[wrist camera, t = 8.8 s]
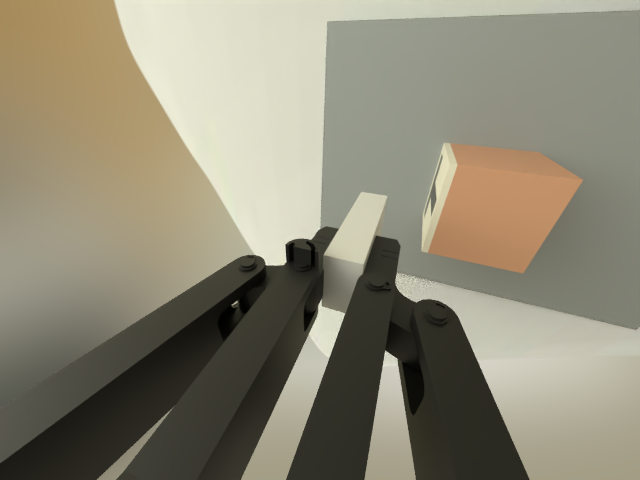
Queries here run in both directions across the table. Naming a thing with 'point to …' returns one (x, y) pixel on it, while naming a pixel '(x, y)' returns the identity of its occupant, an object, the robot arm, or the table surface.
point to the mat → (496, 140)
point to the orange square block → (494, 205)
